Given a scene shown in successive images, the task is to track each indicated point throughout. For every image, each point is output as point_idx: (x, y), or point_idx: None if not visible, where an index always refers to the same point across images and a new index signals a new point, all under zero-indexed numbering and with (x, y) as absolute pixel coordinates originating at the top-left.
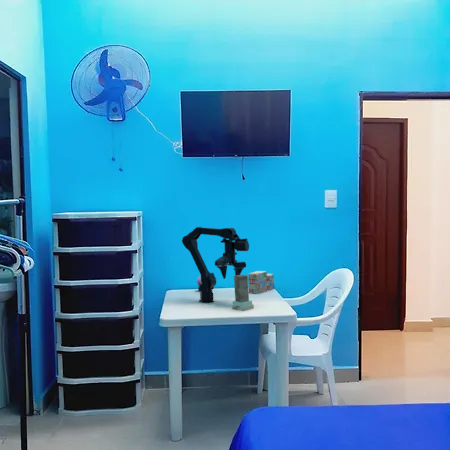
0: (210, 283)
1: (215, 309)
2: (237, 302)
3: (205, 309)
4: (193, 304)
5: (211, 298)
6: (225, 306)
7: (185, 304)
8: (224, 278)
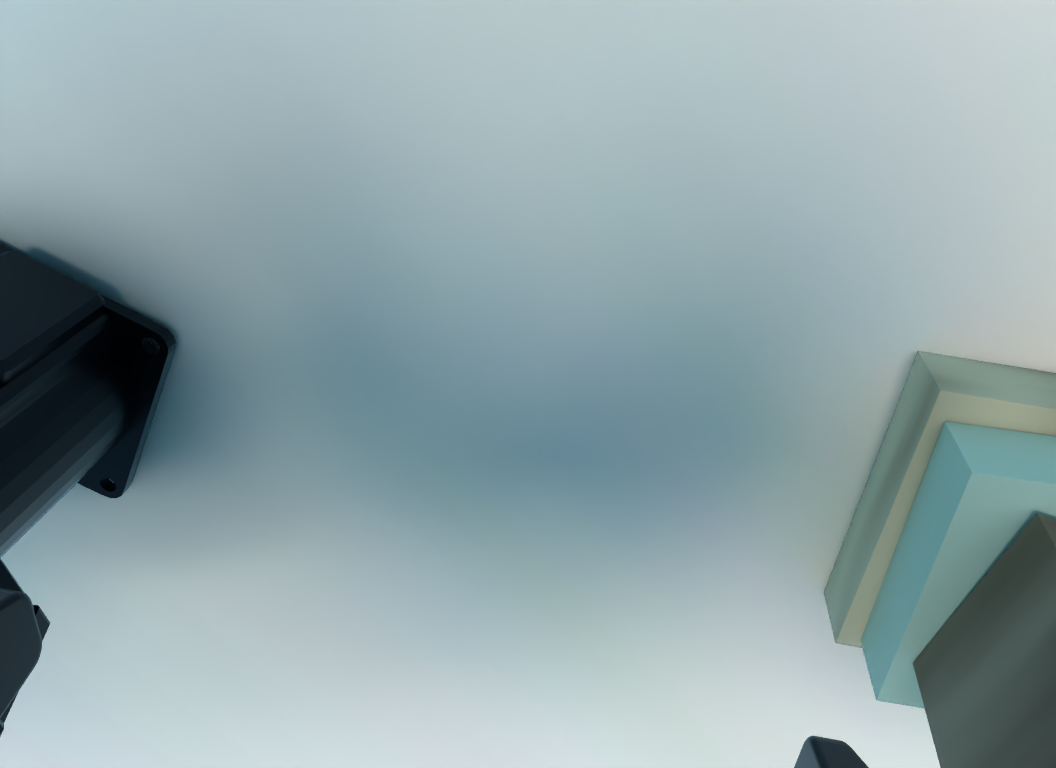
0: None
1: (608, 709)
2: None
3: (484, 750)
4: (100, 603)
5: (85, 358)
6: (618, 512)
7: None
8: (31, 644)
